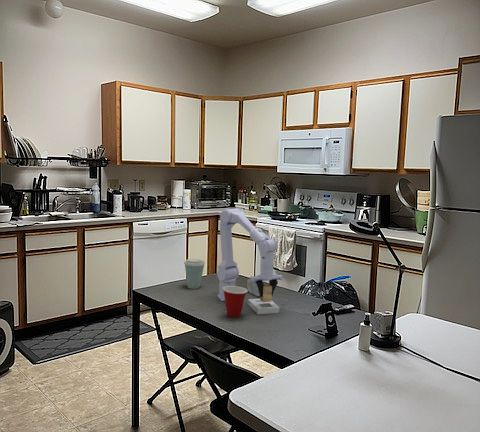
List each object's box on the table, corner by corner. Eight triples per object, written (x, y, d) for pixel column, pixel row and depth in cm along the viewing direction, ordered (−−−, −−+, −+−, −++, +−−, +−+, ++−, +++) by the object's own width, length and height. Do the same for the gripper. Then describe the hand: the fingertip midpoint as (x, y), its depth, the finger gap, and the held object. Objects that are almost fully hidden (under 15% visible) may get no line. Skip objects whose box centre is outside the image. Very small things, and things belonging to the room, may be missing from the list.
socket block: (248, 304, 204) (248, 299, 204) (268, 303, 207) (268, 298, 207) (257, 314, 191) (258, 308, 191) (279, 312, 194) (279, 307, 194)
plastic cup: (249, 319, 185) (249, 291, 183) (223, 320, 183) (224, 292, 181) (244, 311, 195) (245, 284, 194) (220, 311, 193) (221, 285, 192)
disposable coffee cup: (184, 284, 236) (184, 257, 234) (204, 284, 237) (204, 257, 235) (183, 290, 225) (184, 261, 224) (204, 290, 227) (205, 261, 225)
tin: (266, 298, 215) (266, 281, 214) (260, 299, 213) (261, 282, 212) (250, 290, 228) (250, 275, 227) (245, 291, 226) (245, 275, 225)
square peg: (260, 299, 197) (260, 284, 197) (268, 298, 199) (268, 283, 198) (263, 302, 194) (263, 286, 193) (271, 301, 195) (272, 286, 194)
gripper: (254, 269, 188) (253, 299, 190) (285, 267, 192) (284, 297, 194) (249, 265, 195) (248, 295, 196) (279, 264, 199) (278, 293, 201)
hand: (266, 296), depth 196 cm, fingers closed on square peg, 4 cm apart
